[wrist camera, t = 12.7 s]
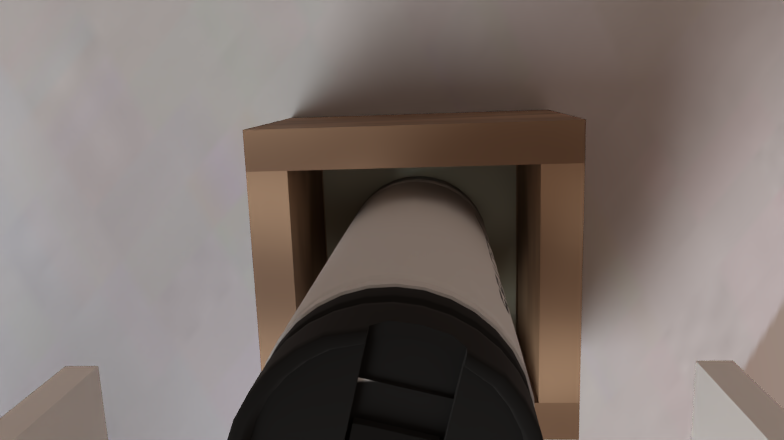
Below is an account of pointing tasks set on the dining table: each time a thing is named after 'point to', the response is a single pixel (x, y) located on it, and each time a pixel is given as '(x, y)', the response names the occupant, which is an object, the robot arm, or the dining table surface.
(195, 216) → the dining table surface
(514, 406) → the travel mug
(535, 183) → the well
